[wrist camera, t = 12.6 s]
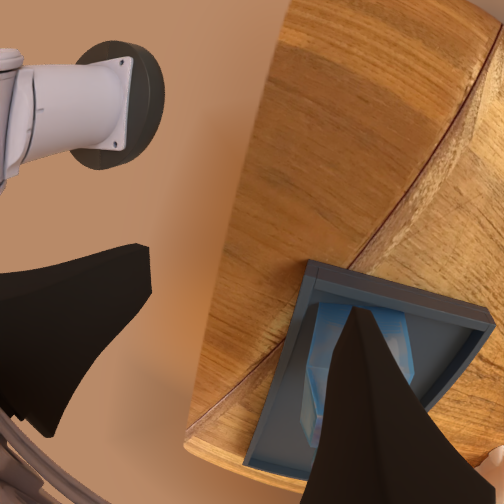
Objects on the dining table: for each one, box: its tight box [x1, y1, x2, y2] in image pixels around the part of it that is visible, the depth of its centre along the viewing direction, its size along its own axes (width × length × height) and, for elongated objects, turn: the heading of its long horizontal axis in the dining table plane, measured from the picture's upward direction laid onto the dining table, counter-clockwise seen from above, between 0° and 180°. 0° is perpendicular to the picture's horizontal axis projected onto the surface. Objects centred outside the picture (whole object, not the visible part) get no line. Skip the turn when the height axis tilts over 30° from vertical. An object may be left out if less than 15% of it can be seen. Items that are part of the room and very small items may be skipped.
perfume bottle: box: [300, 302, 415, 468], centre depth 15 cm, size 6×6×12 cm
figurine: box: [474, 445, 504, 504], centre depth 16 cm, size 11×11×15 cm
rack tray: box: [242, 259, 496, 481], centre depth 25 cm, size 16×36×2 cm, turn 172°
